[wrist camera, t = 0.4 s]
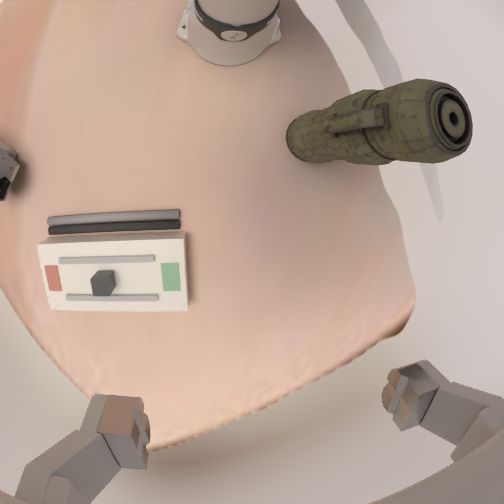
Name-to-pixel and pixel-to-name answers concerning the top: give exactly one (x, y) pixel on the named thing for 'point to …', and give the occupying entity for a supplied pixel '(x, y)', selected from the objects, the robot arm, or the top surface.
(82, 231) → the long gray rail
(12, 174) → the circuit breaker
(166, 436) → the top surface
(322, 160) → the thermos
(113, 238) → the white slider track board
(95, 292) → the breaker toggle
